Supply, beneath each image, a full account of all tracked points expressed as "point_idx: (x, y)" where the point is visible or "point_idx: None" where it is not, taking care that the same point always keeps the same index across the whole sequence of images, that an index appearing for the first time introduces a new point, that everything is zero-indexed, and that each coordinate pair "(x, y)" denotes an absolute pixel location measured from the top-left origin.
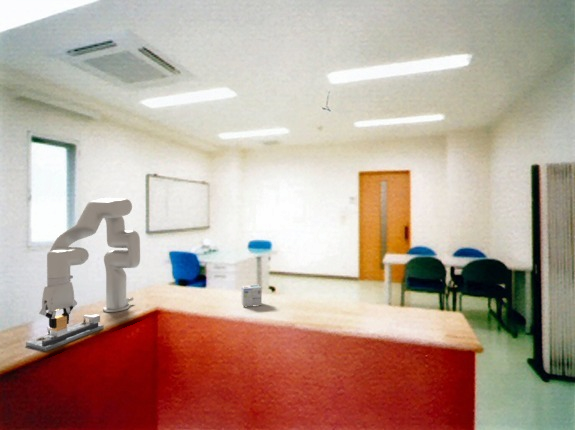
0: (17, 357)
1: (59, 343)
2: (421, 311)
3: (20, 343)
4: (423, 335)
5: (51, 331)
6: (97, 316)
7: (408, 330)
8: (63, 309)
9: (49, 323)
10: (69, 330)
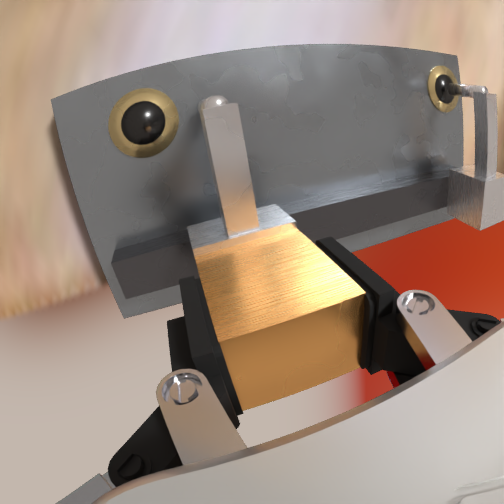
0: (2, 270)
1: None
2: None
3: (58, 20)
4: None
5: (192, 246)
6: (492, 222)
7: None
8: (421, 356)
9: (171, 344)
10: (349, 119)
